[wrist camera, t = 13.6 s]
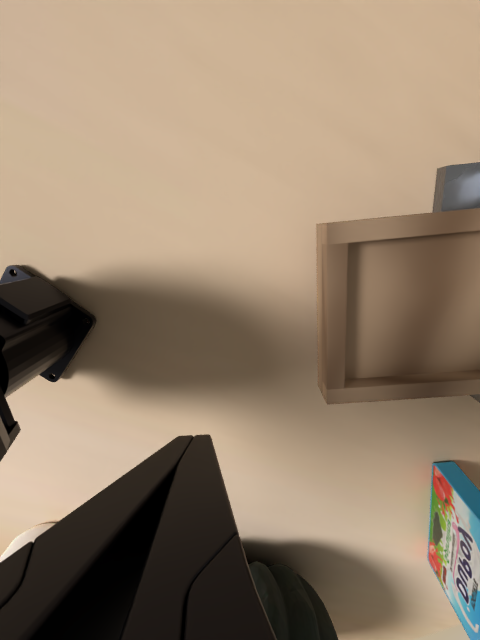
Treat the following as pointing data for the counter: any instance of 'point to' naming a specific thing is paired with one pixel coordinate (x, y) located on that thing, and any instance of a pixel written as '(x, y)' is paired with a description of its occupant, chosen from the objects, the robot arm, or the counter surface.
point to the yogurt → (456, 542)
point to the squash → (291, 604)
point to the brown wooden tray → (399, 307)
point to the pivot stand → (458, 192)
